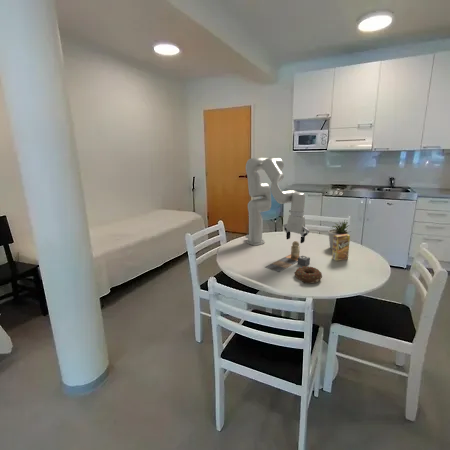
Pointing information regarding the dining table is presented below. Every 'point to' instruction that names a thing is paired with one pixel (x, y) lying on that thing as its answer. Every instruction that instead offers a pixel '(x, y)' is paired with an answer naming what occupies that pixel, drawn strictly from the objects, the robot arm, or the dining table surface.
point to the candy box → (340, 247)
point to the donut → (308, 274)
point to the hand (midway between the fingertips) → (295, 240)
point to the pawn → (295, 250)
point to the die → (303, 261)
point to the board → (282, 263)
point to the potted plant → (337, 232)
